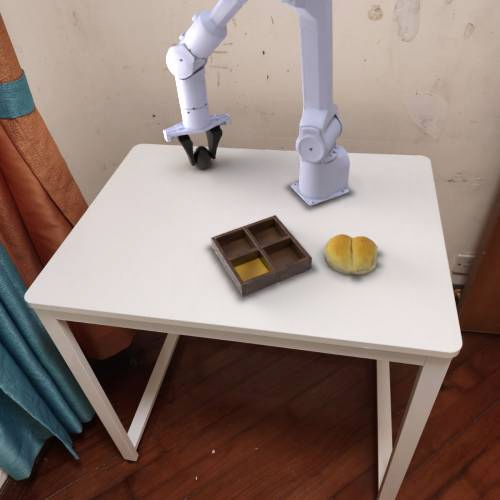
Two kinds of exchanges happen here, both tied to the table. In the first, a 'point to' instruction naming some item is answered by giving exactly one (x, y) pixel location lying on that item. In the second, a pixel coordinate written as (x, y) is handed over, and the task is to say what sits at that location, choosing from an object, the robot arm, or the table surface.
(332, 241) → the bread roll
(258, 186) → the table surface
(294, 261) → the brown compartment tray
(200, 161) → the egg
